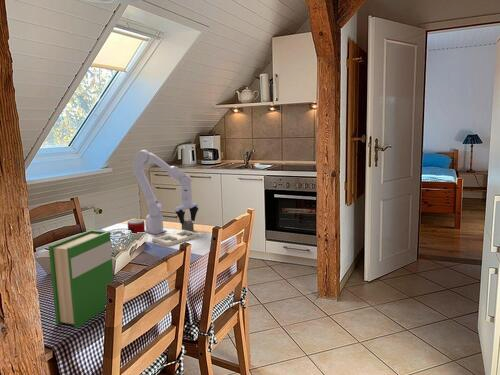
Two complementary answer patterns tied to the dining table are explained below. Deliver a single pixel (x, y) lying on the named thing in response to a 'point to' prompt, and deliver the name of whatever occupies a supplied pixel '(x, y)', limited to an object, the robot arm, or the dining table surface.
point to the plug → (188, 225)
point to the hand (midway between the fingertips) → (187, 222)
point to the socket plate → (175, 237)
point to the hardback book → (81, 276)
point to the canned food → (136, 225)
